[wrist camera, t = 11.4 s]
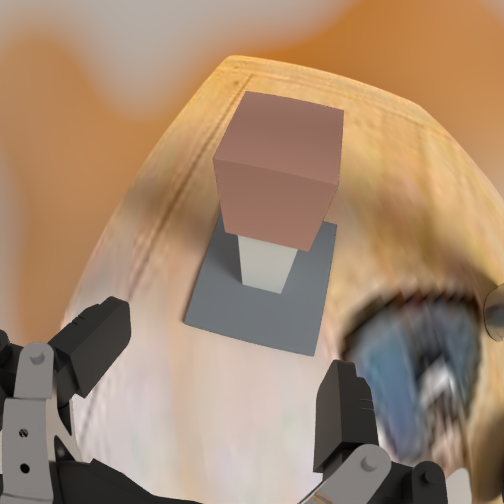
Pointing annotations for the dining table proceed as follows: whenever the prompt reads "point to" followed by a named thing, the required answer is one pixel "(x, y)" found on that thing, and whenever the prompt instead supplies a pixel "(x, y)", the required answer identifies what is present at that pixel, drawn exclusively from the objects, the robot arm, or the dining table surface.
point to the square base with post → (263, 290)
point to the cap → (278, 168)
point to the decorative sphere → (503, 491)
